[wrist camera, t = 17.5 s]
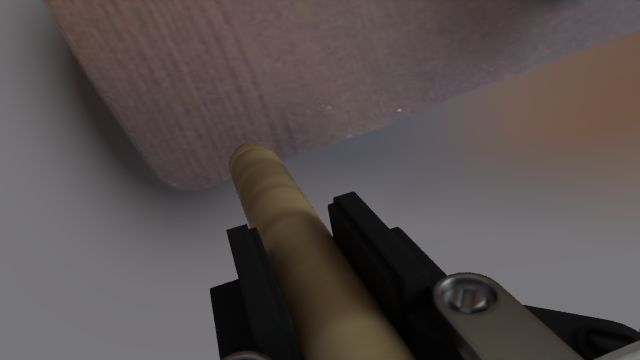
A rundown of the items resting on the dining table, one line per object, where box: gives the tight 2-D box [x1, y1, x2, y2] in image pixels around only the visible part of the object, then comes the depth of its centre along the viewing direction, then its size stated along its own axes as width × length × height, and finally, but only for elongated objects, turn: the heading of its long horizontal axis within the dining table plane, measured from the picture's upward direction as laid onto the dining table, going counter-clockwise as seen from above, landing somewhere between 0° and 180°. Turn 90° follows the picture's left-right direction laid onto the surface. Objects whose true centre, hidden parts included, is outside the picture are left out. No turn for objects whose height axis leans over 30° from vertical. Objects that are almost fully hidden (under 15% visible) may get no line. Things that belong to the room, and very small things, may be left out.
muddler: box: [229, 141, 417, 360], centre depth 13 cm, size 2×2×13 cm
